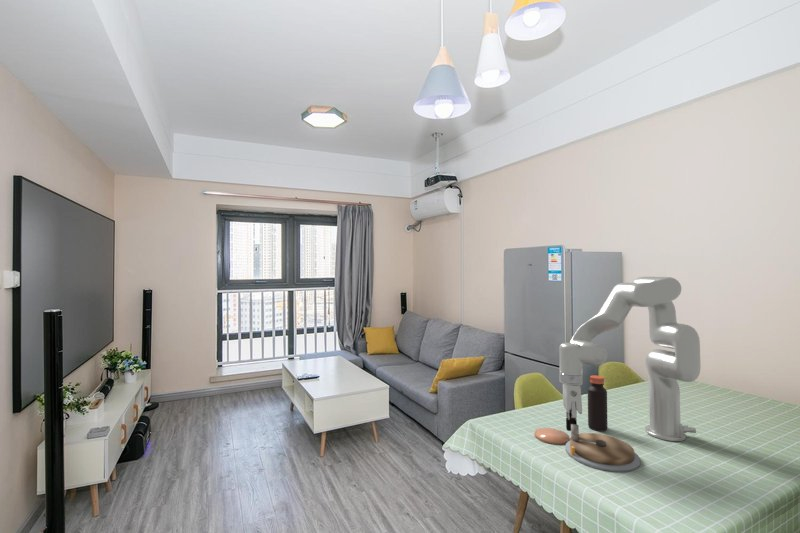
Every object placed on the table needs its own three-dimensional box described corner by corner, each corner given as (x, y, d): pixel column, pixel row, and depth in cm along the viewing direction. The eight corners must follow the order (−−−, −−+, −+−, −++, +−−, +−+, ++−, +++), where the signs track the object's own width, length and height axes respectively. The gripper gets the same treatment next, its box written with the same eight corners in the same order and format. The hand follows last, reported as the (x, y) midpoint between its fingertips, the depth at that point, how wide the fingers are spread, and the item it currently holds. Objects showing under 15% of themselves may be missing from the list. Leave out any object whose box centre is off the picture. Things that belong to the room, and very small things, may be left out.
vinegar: (610, 432, 146) (609, 379, 146) (590, 430, 147) (590, 378, 147) (604, 425, 152) (603, 375, 153) (586, 424, 154) (585, 374, 154)
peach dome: (565, 432, 146) (565, 429, 146) (572, 445, 134) (572, 443, 134) (532, 429, 149) (532, 426, 149) (536, 442, 137) (536, 439, 137)
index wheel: (618, 440, 136) (618, 420, 136) (646, 466, 117) (645, 443, 117) (562, 437, 138) (562, 418, 138) (581, 463, 119) (581, 440, 119)
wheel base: (626, 443, 136) (626, 434, 136) (651, 475, 114) (651, 464, 114) (560, 437, 141) (560, 428, 141) (572, 467, 119) (572, 456, 119)
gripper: (587, 385, 127) (587, 440, 127) (578, 373, 142) (578, 423, 141) (563, 383, 129) (563, 437, 129) (556, 372, 143) (557, 421, 143)
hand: (571, 430), depth 135 cm, fingers closed
